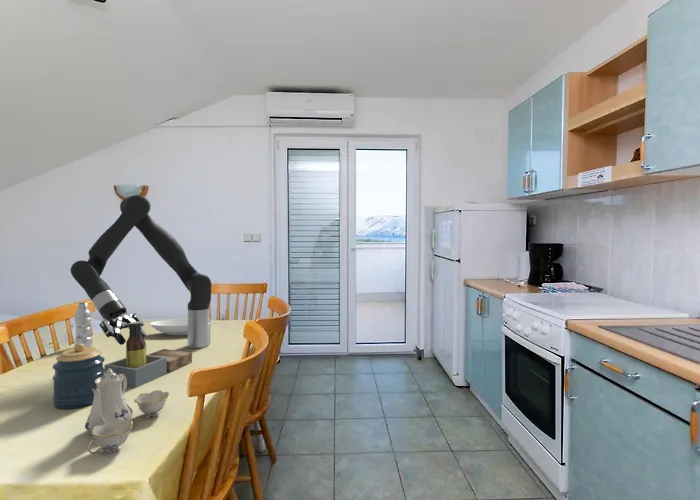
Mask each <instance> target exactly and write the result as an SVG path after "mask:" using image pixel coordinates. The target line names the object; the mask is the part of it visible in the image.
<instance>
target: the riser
mask: <svg viewBox="0 0 700 500" xmlns="http://www.w3.org/2000/svg"><path fill="white" fill-rule="evenodd" d="M147 355H152V356H159V357H167V373H171V372H175V371H176V370H178V369H180V368H183V367H186V366H187V365H190V364H192V363H193V352H191V351H190V352H189V351H182V350H181V351H180V350H173V349H166V348H163V349H160V350H157V351H155V352H152V353H149V354H147ZM189 363H190V364H189Z"/></svg>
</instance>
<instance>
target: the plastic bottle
mask: <svg viewBox="0 0 700 500" xmlns="http://www.w3.org/2000/svg"><path fill="white" fill-rule="evenodd" d="M92 316H93V314H92V311H91V310H90V309H89V302H86V301H85V302H78V303H77V310H76V311H75V312H74V315H73V317H74V319H73V320H74V321H75V322H74V323H75V338H74V346H75V345H76V344H78V343H82V344H84V347H92V345H93V337H92V331H91V325H92V323H91V322H92Z"/></svg>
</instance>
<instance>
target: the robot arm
mask: <svg viewBox="0 0 700 500" xmlns="http://www.w3.org/2000/svg"><path fill="white" fill-rule="evenodd" d="M119 209H120V212H121V214H120V215H119V216H118V217H117V219H116V220H115V222H114V223H113V224H112V225H111V226H109V227H108V229H106V230H105V231H104V232H103V233H102V234H101V236H99V238H98V239H97V240H96V241H95V242H94V243H93V245H92V246H91V247H90V249H89V250H88V256H89V258H88V260H78V261H75V262H74V263H73V264H72V265H71V267H70V275H71V276H72V277H73V279H74V280H75V281H76V282H77V284H79V286H80V287H81V288H82V289H83V290H84V291H85V293H86V295H87V296H88V298H89V299H90V300H91V302H92V303H93V305H94V307H95V309H96V310H97V312H98V313H99V314H100V316H101V317H102V318H103V319H102V320H101V322H100V323H99V326H100V328H101V330H102V332H103V333H104V334H105V336H106V338H110V337H112V338H114V339H115V341H116V342H117V344H119V345H120V346H122V345H124V344H126V342H127V340H126V339H125V337H124V336H123V335H122V333H121V332H120V331H121V330H122V329H123V330H124V329H129V323H130V322H136V321H140V322H142V326H141V332H142V336H143V338H145V337H146V336H147V334H146V331H145V330H144V329H143V328H142V327H143V326H145V322H144V321H143V319H142V318H141V317H140V315H138V313H137V312H132V314H128V312H127V308H126V307H125V305H124V304H123V302H122V301H121V299H119V296H117V294H116V293H115V292H113V290H112V289H111V287H110V285H108V284H107V282H106V281H104V280H103V279H102V277H101V275H102V274H103V272H104V269H105V267H106V265H107V264H108V260H109V259H110V258H111V257H112V255H113V254H114V252H115V251H116V250H117V249H118V247H120V244H121V243H122V242H123V240H124V239H125V238H126V236H127V235H129V233H130V232H131V230H133V229H134V227H135V228H136V229H137V230H138V231H139V232H140V233H141V234H142V236H143V237H144V238H145V239H146V241H147V242H148V243H149V245H151V247H152V248H153V249H154V250H155V252H156V253H157V254H158V255H159V257H160V258H161V259H162V260H163V261H164V262H165V263H166V264H167V266H169V267H170V268H171V269H172V271H174V272H175V274H176V275H177V277H179V279H180V280H181V282H182V283H183V285H184V287H185V288H186V289H187V290H188V291H189V292H190V300H189V302H188V303H187V319H188V335H187V347H188V348H190V349H201V348H206V347H208V346H210V344H211V325H210V323H209V319H210V304H211V302H212V301H211V300H212V281H211V279H210V278H211V277H209V276H208V275H207V274H205V273H200V272H199V271H198V270H196V268H195V267H194V266H193V265H192V264H191V263H190V261H189V259H188V258H187V257H188V256H187V255H186V253H185V250H184V248H183V247H182V246H181V244H180V243H179V242H178V240H177V239H176V238H175V236H173V234H172V233H170V232H169V231H167V230H166V229H165V228H163V226H160V225H159V224H158V223H157V222H156V221H154V219H153V218H152V217H151V215H150V214H149V213H150V211H151V202H150V200H149V199H148V198H147V197H146V196H144V195H141V194H140V195H139V194H135V195H134V194H133V195H131V196H127V197H125V198H123V199H122V200H121V202H120V204H119Z"/></svg>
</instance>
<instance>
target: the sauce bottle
mask: <svg viewBox="0 0 700 500" xmlns="http://www.w3.org/2000/svg"><path fill="white" fill-rule="evenodd" d="M141 326H142V322H140V321H136V322H130V323H129V328H128V330H129V333H128V334H129V335H128V338H127V340H126V342H125V349H126V350H125V358H126V363H127V367H128V368H135V369H136V368H139V367H141V366H144V365H146V364H147V361H146V355H147V344H146V341H145V339H144V338H145V337H144V338H143V336H142V332H141ZM142 327H143V326H142Z"/></svg>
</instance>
